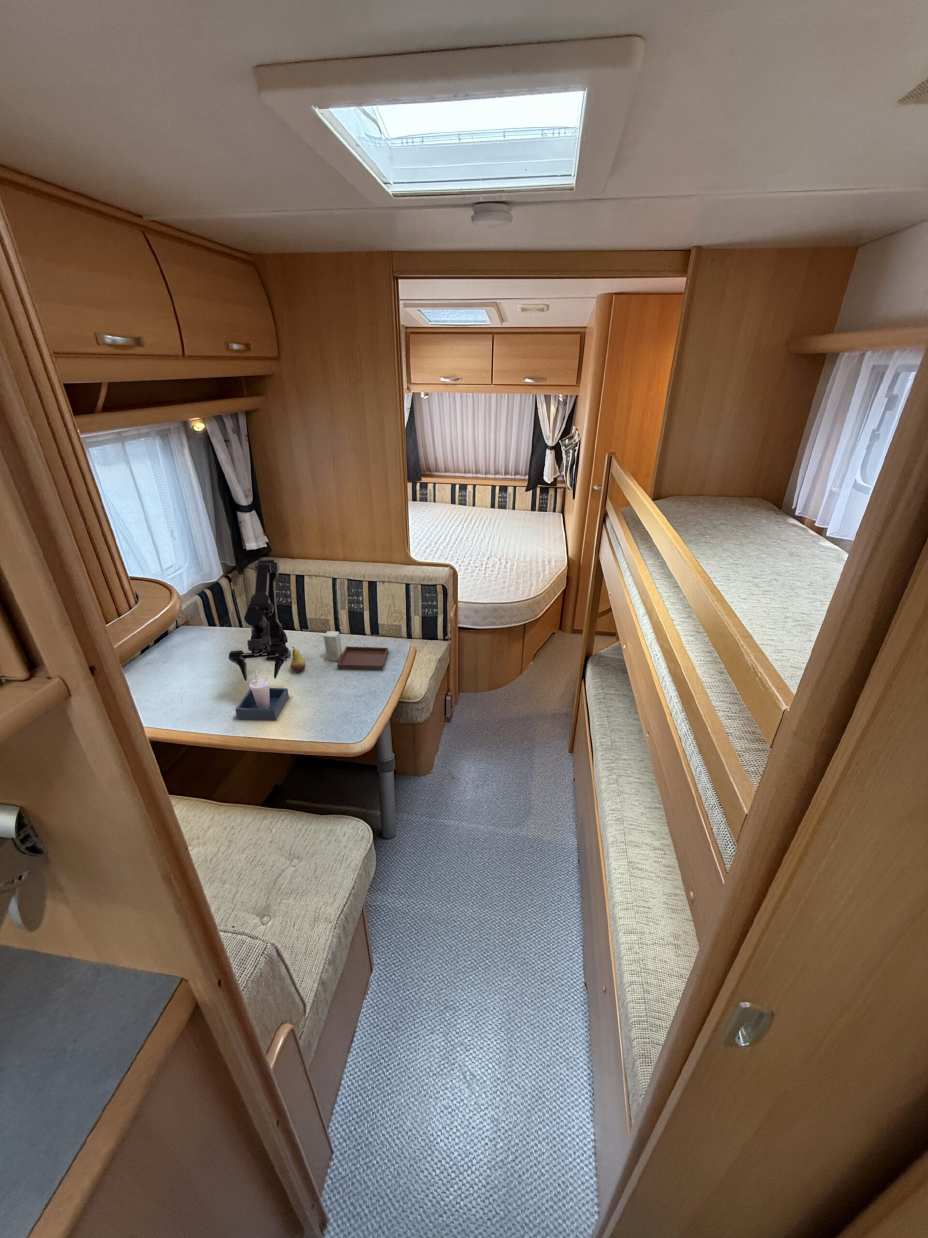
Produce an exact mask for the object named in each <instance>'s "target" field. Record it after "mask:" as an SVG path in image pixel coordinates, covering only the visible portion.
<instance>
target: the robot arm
mask: <svg viewBox="0 0 928 1238" xmlns="http://www.w3.org/2000/svg"><path fill="white" fill-rule="evenodd" d="M280 568H281V567H280V562H279V561H276V559H258V560H257V562H254V563H253V570H254V571H253V572H254V574H255V582H254V583H255V585H254V594H253V595H252V596H250V599H249V603H248V604H247V607H246V611H245V614H244V616H243V619H244V622H245V624H247V626H248V627H249V629H251V631H250V633H251V635H250V639H249V640H247V642H246V643H247V651H249V652H244V651H243V650H242V649H239V650H230V652H228V660H229V661H230V662H231V663H234V664H236V665H237V666H238V667H239V669H240V672H241V674H242V678H243V680H244V682H247V681H248V669H247V668H248V667H247V665H248V664H247V662H246V660H247V659H259V658H265V660H266V661H274V667H273V678H274V680H275V679H277V677H278V674H279V673H280V670H281V668H282V666H283V664H284V662H287V660H288V659H292V658H291V657H292V656H291V655H292V653H291V650H290V649H289V647H288V646H287V644H288V642H289V640H288V636H287V633H286V631H285V630H284V629H283V625H282V623H281V622H280V621H279V620H278V612H277V611H278V610H277V609H278V608H277V595H276V594H277V593H276V581H277V579H278V578H279V572H280V570H281V569H280Z"/></svg>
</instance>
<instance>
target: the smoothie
mask: <svg viewBox="0 0 928 1238" xmlns="http://www.w3.org/2000/svg"><path fill="white" fill-rule="evenodd" d="M254 676H255V678H254V679H252V680H251V681H250V682H249V684H248V687H249V690H250V689H251V690H252V693H253V696H254V699H255V701H256V704H257V707H258V709H268V708H269V707H270V697H269V688H270V686H271V681H270V679H269V678H266V677H258V671H257V670H254Z"/></svg>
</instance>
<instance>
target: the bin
mask: <svg viewBox="0 0 928 1238" xmlns="http://www.w3.org/2000/svg"><path fill="white" fill-rule="evenodd" d="M269 697H270V707H269V708H268V709H258V707H257V704H256V701H255V699H254V696H253V693H252V690H251V689H250V688H249V690H248V691H247V692H246V694H245V695H244V697H243V698H242V700H240V702H239V704H238V705H237V706H236V707H235V709H234V710H235V714H236V718H237V720H249V721H250V720H251V721H252V720H253V721H277V719H278V718H279V716H280V715H281V712H282V711H283V709H284V707H285V706H286V703H287V702H288V700H289V699H290V695H289V690H288V688H284V687H269Z"/></svg>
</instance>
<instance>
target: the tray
mask: <svg viewBox="0 0 928 1238" xmlns="http://www.w3.org/2000/svg"><path fill="white" fill-rule="evenodd" d="M388 655H389V647H377V646H374V647H373V646H345V648H344V650H343V651H342V656H341V658H340V660H339V661H337V662H338V663H337V670H353V671H384V667H385V664H386V661H387V658H388Z"/></svg>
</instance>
